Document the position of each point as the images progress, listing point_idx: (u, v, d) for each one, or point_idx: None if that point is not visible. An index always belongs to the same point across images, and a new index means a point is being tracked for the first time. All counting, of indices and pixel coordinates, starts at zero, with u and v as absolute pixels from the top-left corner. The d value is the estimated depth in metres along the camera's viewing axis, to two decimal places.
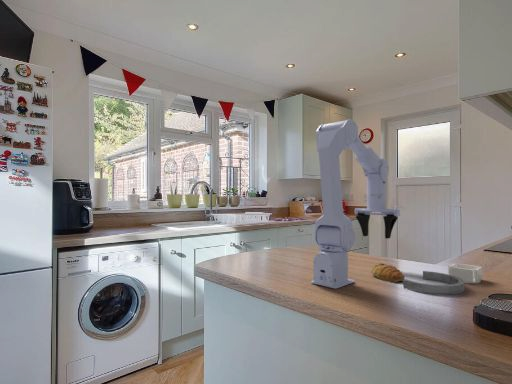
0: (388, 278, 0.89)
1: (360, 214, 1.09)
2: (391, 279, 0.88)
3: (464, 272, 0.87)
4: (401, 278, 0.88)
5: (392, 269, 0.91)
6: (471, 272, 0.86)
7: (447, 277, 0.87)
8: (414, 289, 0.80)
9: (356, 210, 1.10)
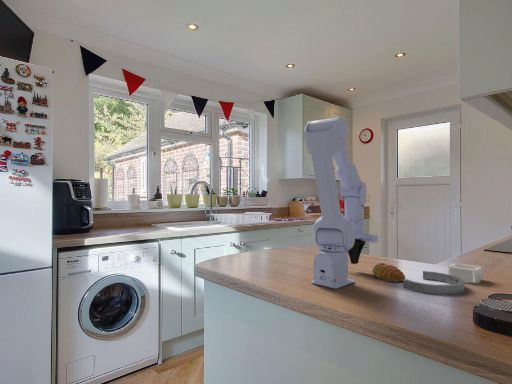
0: (389, 277, 0.89)
1: None
2: (393, 279, 0.88)
3: (464, 272, 0.87)
4: (402, 278, 0.88)
5: (393, 268, 0.91)
6: (471, 272, 0.86)
7: (447, 277, 0.87)
8: (414, 289, 0.80)
9: None
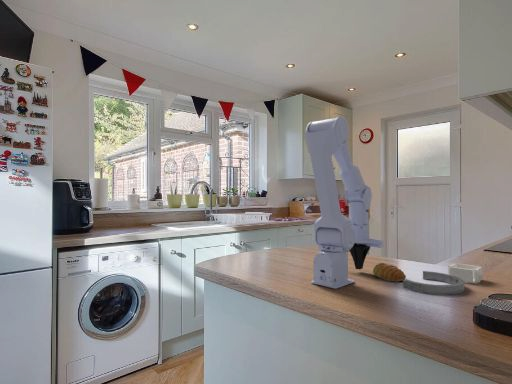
0: (389, 277, 0.89)
1: None
2: (393, 278, 0.88)
3: (464, 272, 0.87)
4: (403, 278, 0.88)
5: (394, 268, 0.91)
6: (471, 272, 0.86)
7: (447, 277, 0.87)
8: (414, 289, 0.80)
9: None
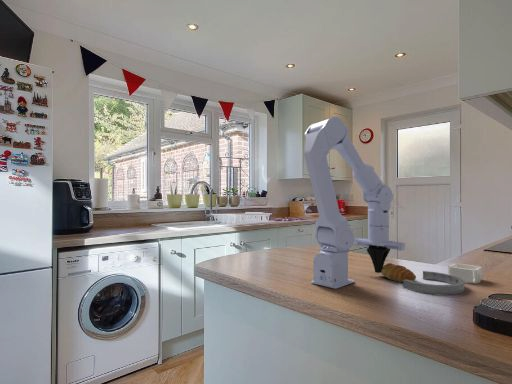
0: (400, 278, 0.88)
1: None
2: (404, 279, 0.87)
3: (464, 272, 0.87)
4: (413, 278, 0.87)
5: (403, 269, 0.90)
6: (471, 272, 0.86)
7: (447, 277, 0.87)
8: (414, 289, 0.80)
9: (356, 241, 0.99)
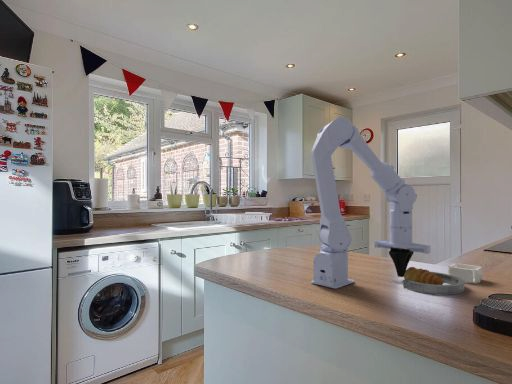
0: (428, 283, 0.83)
1: None
2: (433, 284, 0.82)
3: (464, 272, 0.87)
4: (442, 282, 0.82)
5: (429, 273, 0.85)
6: (471, 272, 0.86)
7: (447, 277, 0.87)
8: (414, 289, 0.80)
9: (376, 243, 0.94)
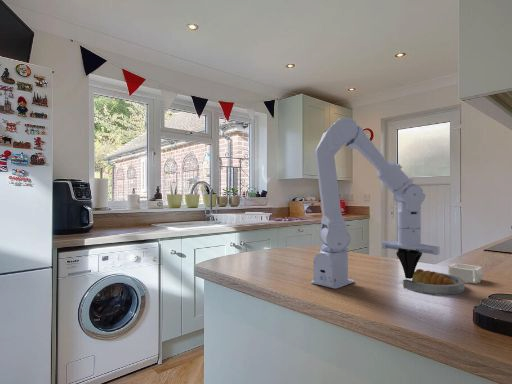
0: None
1: None
2: None
3: (464, 272, 0.87)
4: None
5: (438, 275, 0.84)
6: (471, 272, 0.86)
7: (447, 277, 0.87)
8: (414, 289, 0.80)
9: (384, 244, 0.92)
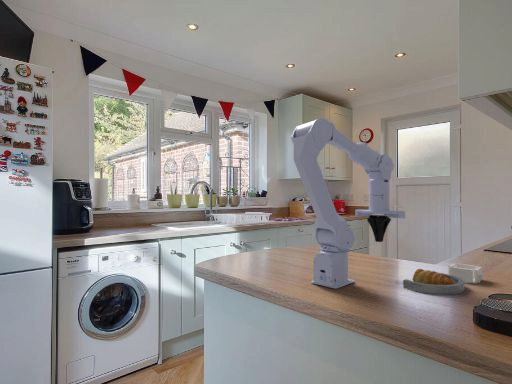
0: None
1: None
2: None
3: (464, 272, 0.87)
4: None
5: (439, 274, 0.84)
6: (471, 272, 0.86)
7: None
8: (414, 289, 0.80)
9: (357, 212, 1.00)
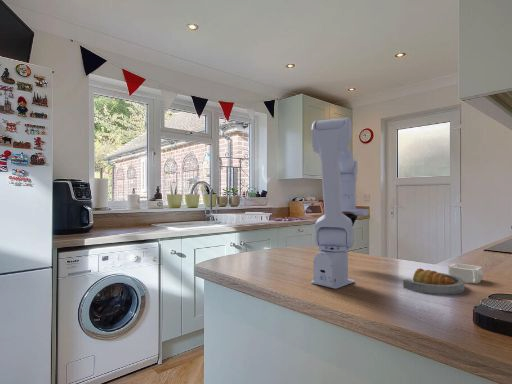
0: (440, 284, 0.82)
1: None
2: None
3: (464, 272, 0.87)
4: (453, 283, 0.82)
5: (439, 274, 0.85)
6: (471, 272, 0.86)
7: None
8: (414, 289, 0.80)
9: None
